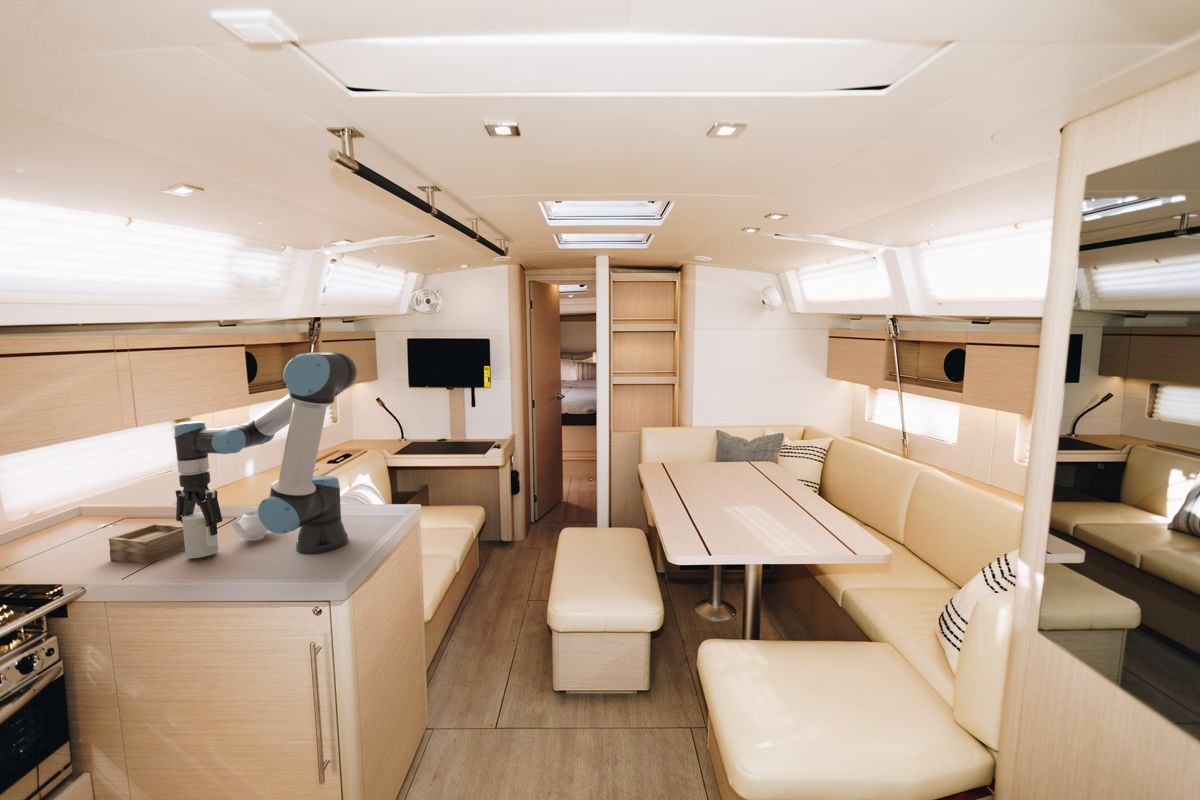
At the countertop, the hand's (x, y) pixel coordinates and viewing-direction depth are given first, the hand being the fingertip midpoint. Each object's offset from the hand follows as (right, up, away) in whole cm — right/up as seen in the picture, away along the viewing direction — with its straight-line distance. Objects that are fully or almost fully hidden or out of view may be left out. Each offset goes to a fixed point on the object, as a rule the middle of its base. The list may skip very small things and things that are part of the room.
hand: (201, 544), depth 166 cm
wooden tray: (-18, -1, +3) cm, 19 cm away
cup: (0, -3, 0) cm, 3 cm away
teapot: (+7, -3, +16) cm, 18 cm away
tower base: (-18, -4, +4) cm, 19 cm away
